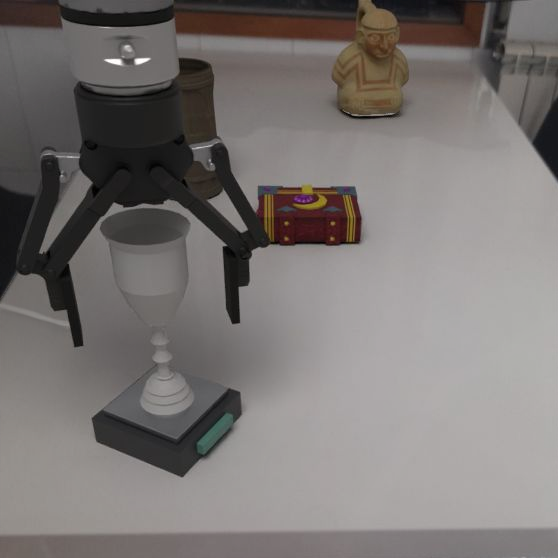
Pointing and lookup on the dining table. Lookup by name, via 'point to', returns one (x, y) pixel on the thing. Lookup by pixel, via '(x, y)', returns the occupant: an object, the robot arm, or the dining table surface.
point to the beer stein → (198, 118)
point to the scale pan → (166, 425)
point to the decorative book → (309, 214)
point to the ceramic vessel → (371, 65)
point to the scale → (165, 451)
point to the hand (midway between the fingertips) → (158, 327)
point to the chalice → (153, 289)
